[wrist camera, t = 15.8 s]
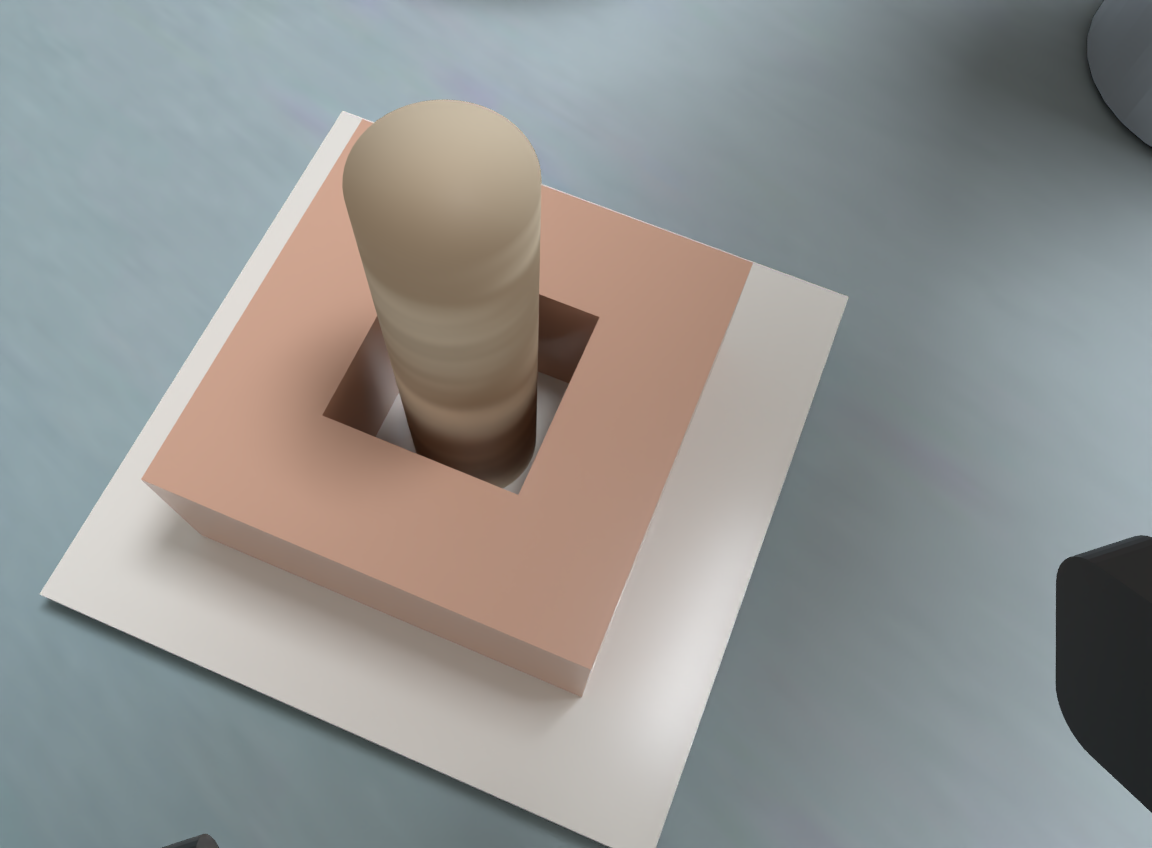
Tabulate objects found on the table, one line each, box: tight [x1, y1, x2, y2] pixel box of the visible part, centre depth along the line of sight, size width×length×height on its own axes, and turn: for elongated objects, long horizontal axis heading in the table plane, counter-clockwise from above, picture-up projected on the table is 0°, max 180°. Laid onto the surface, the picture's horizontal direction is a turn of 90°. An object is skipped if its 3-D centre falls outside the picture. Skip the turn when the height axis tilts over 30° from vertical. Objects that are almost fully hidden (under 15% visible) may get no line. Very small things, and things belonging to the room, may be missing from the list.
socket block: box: [40, 111, 849, 848], centre depth 27 cm, size 17×17×6 cm
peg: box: [342, 100, 541, 488], centre depth 23 cm, size 3×3×12 cm
